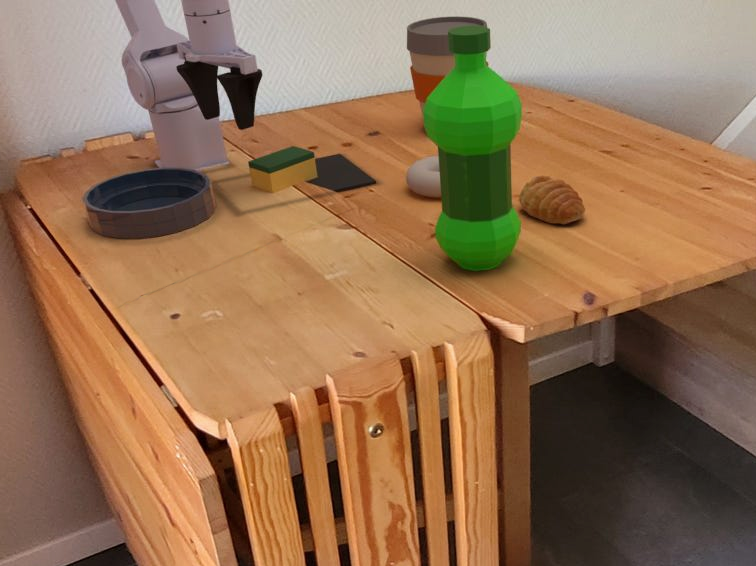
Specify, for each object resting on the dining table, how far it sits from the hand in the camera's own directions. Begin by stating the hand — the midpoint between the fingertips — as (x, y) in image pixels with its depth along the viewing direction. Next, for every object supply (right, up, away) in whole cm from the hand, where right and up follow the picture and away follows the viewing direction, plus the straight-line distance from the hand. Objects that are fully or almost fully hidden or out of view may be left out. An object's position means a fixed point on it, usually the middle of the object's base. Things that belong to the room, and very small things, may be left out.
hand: (229, 122), depth 129 cm
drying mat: (+7, -6, +7) cm, 12 cm away
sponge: (+6, -6, +7) cm, 11 cm away
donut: (+29, -8, +4) cm, 30 cm away
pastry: (+43, -14, -5) cm, 46 cm away
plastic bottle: (+34, -23, -16) cm, 44 cm away
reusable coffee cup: (+29, +8, +24) cm, 39 cm away
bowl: (-10, -13, -1) cm, 16 cm away
